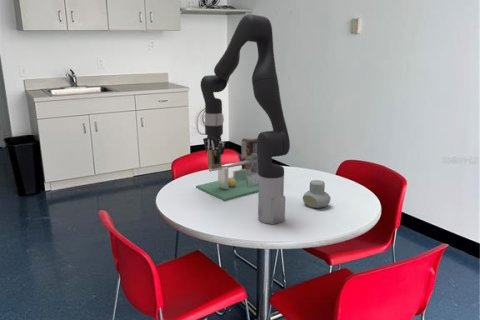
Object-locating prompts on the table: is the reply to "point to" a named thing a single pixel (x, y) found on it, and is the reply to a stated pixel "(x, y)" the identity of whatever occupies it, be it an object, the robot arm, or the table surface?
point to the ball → (231, 182)
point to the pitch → (228, 190)
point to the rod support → (254, 164)
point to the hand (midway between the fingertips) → (214, 162)
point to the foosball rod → (223, 168)
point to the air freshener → (316, 195)
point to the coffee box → (248, 151)
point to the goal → (246, 177)
